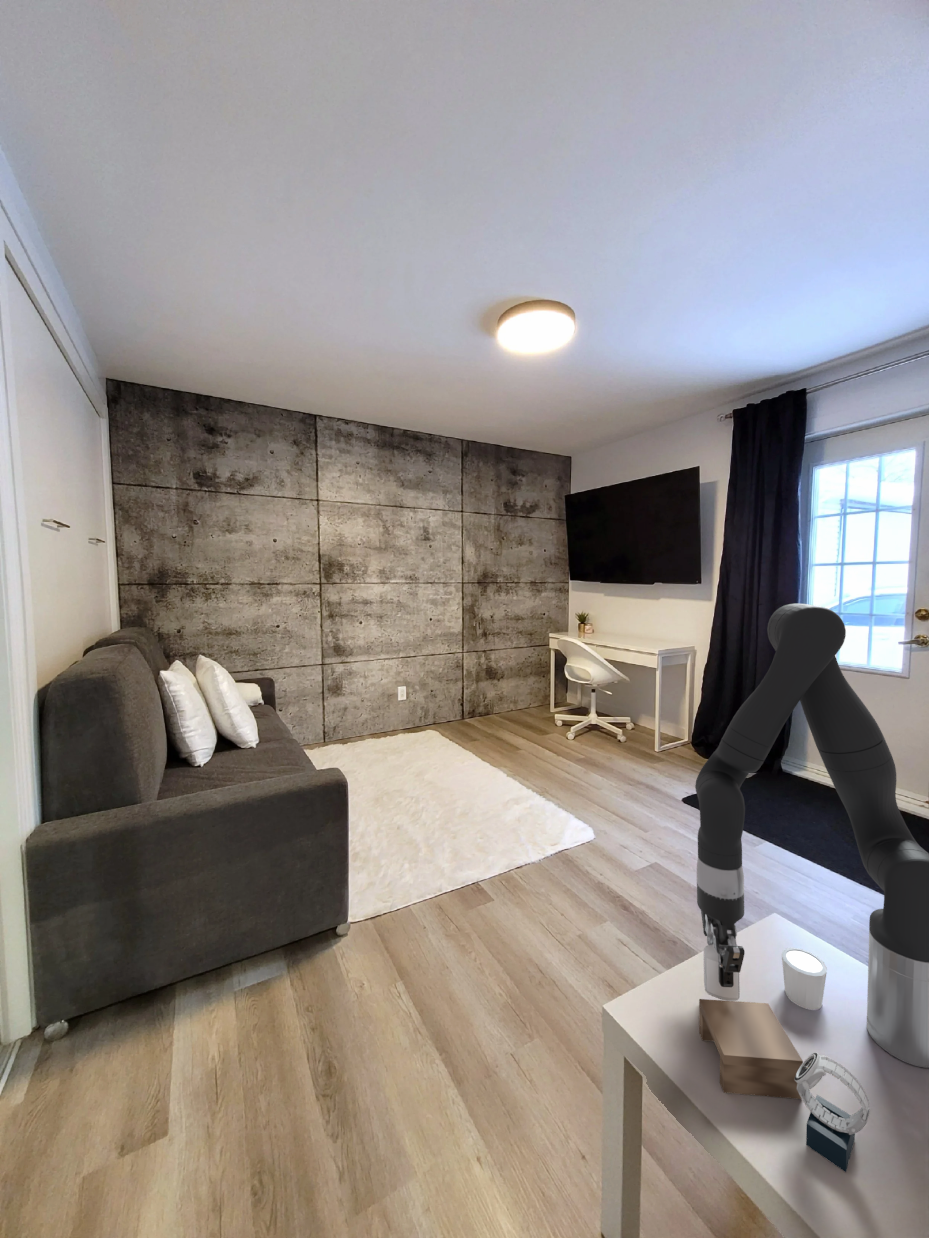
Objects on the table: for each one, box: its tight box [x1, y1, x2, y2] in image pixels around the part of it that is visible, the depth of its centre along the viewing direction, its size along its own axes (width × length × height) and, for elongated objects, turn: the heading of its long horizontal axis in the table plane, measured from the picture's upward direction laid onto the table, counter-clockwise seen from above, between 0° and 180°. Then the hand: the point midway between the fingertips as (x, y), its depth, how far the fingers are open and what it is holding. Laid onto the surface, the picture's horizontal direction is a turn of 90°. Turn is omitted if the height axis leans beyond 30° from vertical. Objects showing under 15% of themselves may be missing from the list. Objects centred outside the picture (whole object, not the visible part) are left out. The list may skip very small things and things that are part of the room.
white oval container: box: [781, 947, 828, 1011], centre depth 89 cm, size 7×7×7 cm
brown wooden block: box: [698, 998, 804, 1100], centre depth 77 cm, size 11×10×6 cm
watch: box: [795, 1052, 871, 1173], centre depth 66 cm, size 6×8×11 cm
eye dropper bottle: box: [703, 942, 741, 1001], centre depth 88 cm, size 4×6×12 cm
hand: (721, 975), depth 88 cm, fingers closed on eye dropper bottle, 3 cm apart
